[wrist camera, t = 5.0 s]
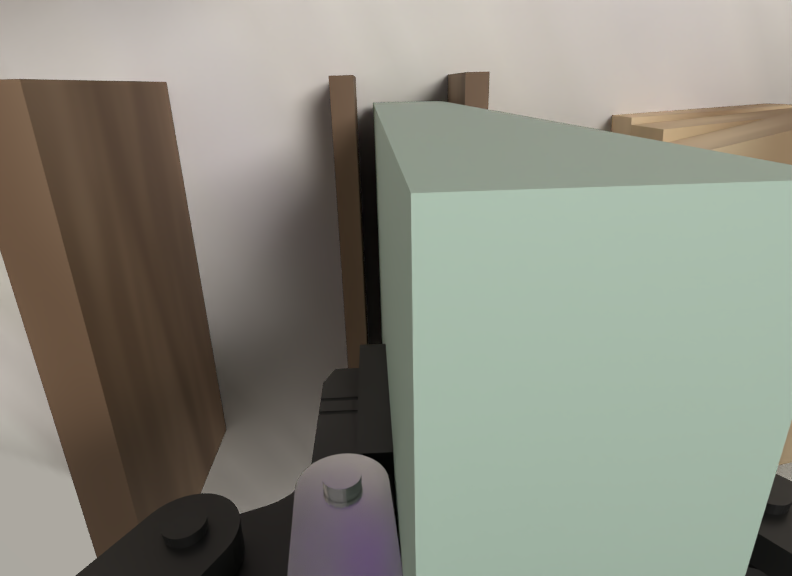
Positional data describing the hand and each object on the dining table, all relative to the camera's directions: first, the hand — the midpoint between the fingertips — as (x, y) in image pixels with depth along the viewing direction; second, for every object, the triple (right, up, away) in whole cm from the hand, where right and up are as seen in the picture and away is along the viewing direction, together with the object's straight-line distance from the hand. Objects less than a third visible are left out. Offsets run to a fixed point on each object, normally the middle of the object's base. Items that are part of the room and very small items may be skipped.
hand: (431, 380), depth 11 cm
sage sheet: (0, +2, +6) cm, 7 cm away
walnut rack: (-4, +2, +7) cm, 8 cm away
